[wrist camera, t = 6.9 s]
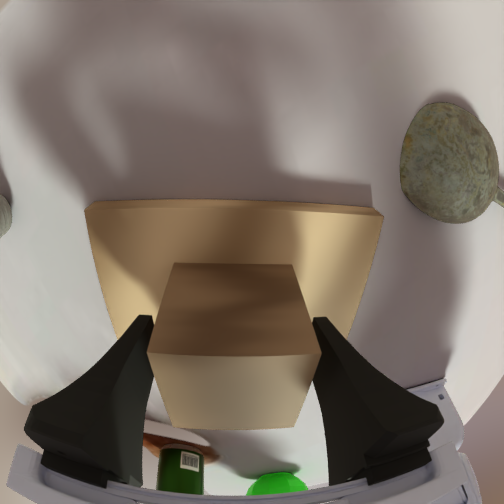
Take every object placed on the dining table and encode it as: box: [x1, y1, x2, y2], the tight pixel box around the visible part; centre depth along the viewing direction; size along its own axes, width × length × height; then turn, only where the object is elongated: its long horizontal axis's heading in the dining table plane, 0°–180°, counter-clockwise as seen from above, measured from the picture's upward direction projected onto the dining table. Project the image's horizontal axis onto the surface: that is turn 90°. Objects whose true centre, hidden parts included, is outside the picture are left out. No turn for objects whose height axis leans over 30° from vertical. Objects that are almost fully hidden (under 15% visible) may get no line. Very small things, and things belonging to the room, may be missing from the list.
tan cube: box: [147, 262, 322, 430], centre depth 12 cm, size 6×6×6 cm
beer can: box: [156, 444, 204, 495], centre depth 21 cm, size 5×5×12 cm
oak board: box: [84, 199, 384, 340], centre depth 15 cm, size 14×10×1 cm
